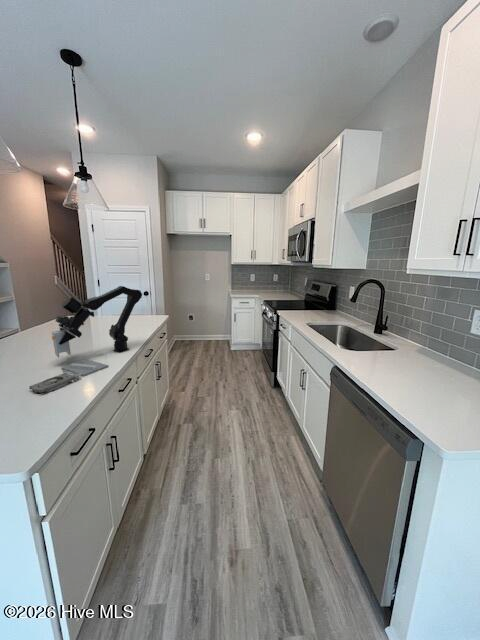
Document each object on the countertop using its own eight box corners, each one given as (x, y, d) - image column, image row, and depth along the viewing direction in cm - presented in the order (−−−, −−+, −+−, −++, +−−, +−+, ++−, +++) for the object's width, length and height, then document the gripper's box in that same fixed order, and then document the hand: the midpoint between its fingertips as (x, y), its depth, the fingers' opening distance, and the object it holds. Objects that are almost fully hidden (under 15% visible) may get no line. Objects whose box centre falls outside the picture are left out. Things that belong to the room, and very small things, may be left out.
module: (67, 352, 138) (64, 329, 136) (70, 354, 135) (67, 331, 132) (53, 355, 134) (49, 331, 131) (56, 357, 130) (52, 333, 128)
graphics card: (64, 368, 123) (81, 372, 118) (65, 376, 124) (82, 380, 119) (23, 384, 108) (40, 389, 103) (25, 392, 109) (42, 397, 104)
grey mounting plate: (86, 360, 141) (86, 356, 140) (108, 367, 132) (107, 362, 132) (61, 369, 130) (60, 364, 129) (83, 376, 121) (82, 371, 121)
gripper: (60, 307, 139) (38, 331, 133) (71, 311, 126) (47, 338, 121) (78, 319, 146) (58, 342, 140) (90, 324, 134) (69, 350, 128)
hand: (58, 343), depth 132 cm, fingers closed on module, 5 cm apart
